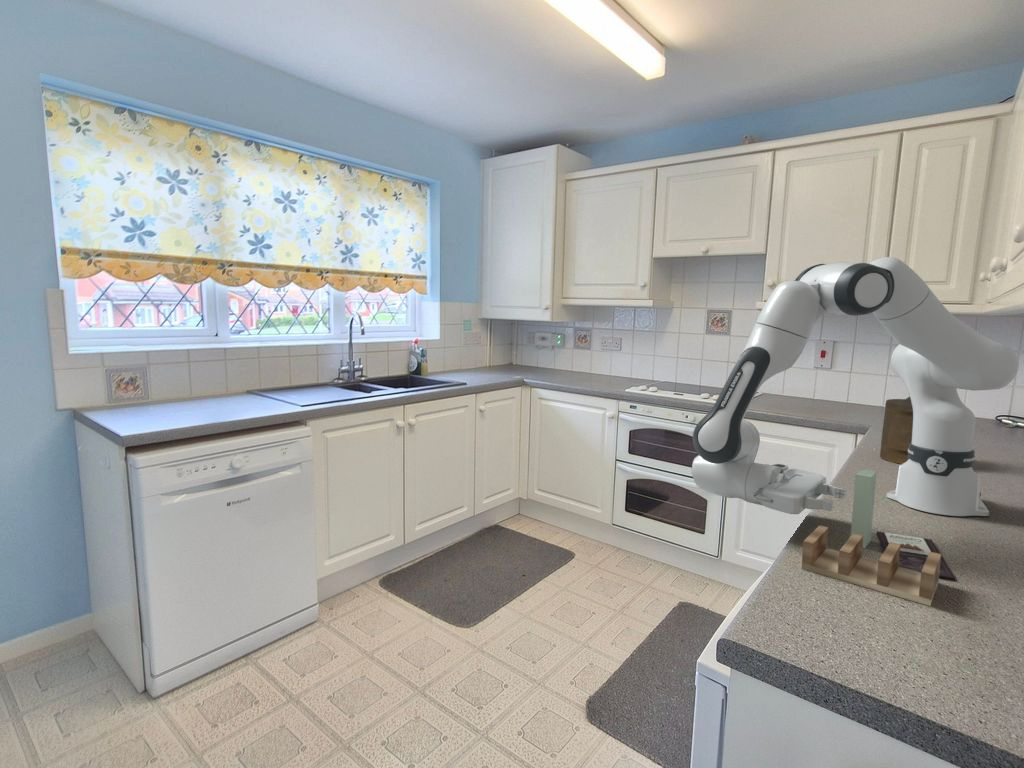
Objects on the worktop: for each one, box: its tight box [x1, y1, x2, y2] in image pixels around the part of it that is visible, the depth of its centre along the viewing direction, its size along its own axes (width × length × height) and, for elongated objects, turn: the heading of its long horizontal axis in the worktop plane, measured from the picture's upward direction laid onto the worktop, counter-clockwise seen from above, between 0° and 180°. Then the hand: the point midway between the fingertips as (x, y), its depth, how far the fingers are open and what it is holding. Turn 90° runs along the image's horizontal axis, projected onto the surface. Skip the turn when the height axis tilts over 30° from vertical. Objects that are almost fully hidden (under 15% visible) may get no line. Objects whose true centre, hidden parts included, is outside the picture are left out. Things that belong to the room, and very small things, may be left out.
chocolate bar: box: [875, 530, 957, 582], centre depth 100 cm, size 9×1×18 cm
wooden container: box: [879, 395, 913, 465], centre depth 165 cm, size 15×15×22 cm
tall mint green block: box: [850, 468, 878, 549], centre depth 105 cm, size 5×2×14 cm, turn 136°
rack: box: [801, 525, 942, 607], centre depth 92 cm, size 10×18×5 cm, turn 46°
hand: (839, 500), depth 108 cm, fingers open, 8 cm apart
